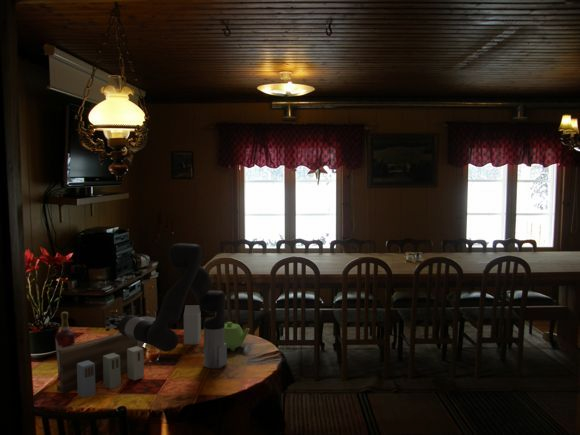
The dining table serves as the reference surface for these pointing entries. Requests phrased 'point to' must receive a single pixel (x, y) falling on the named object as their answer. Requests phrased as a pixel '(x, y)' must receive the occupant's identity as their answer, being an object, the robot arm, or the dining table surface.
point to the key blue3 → (86, 378)
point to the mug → (150, 319)
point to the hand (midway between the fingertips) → (109, 318)
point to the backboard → (91, 358)
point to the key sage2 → (111, 370)
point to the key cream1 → (135, 363)
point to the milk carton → (192, 324)
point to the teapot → (234, 335)
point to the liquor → (64, 338)
